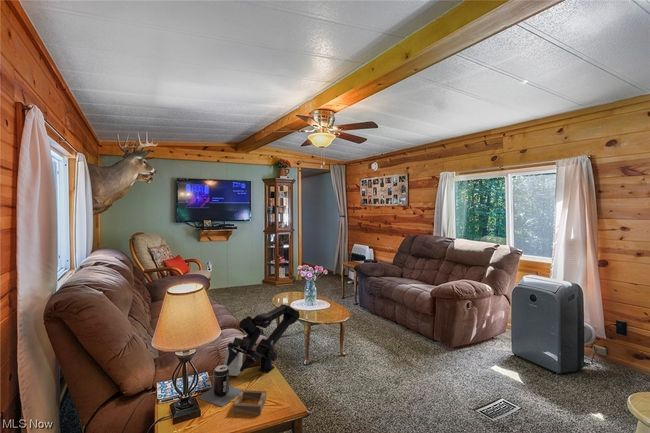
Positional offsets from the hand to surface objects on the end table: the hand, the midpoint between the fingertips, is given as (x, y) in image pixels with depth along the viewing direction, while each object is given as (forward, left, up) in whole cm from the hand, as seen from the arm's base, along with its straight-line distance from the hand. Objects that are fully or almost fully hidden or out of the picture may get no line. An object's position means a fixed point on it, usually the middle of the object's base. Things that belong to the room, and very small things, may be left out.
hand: (233, 368), depth 161 cm
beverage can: (+7, -1, -9) cm, 12 cm away
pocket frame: (+8, +16, -9) cm, 20 cm away
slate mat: (+7, -1, -9) cm, 12 cm away
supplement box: (-9, -8, -9) cm, 15 cm away
